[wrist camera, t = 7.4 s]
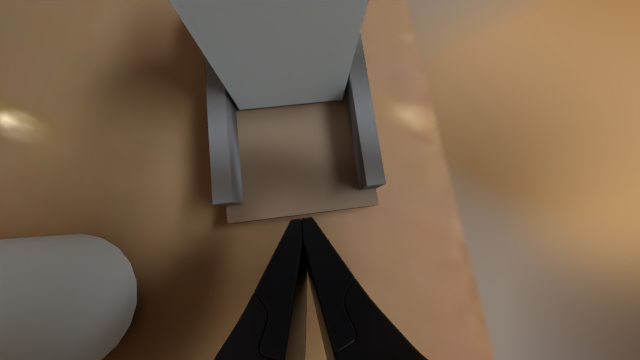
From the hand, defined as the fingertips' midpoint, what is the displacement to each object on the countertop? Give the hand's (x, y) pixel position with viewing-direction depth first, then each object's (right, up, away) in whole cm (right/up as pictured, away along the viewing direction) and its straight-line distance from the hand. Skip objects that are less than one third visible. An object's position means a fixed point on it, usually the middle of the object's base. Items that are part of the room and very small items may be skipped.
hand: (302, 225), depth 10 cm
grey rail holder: (-1, +7, +7) cm, 11 cm away
